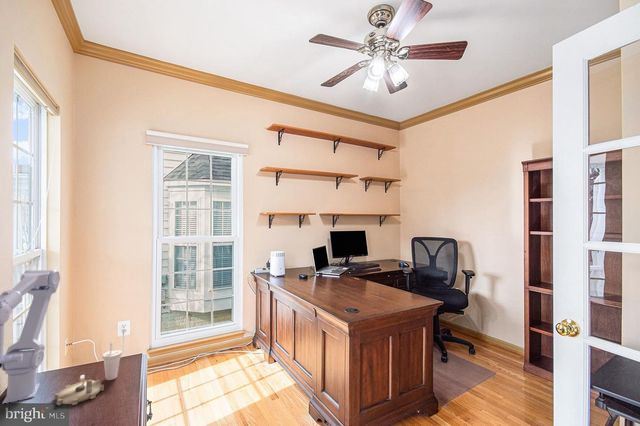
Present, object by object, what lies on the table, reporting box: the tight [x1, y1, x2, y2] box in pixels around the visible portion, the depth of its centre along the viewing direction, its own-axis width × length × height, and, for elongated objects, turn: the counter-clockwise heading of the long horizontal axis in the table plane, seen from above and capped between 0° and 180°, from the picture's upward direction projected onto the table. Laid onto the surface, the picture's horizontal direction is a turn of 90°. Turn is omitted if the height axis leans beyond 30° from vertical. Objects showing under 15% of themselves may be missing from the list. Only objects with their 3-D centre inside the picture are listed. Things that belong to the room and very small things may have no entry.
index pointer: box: [79, 374, 86, 382], centre depth 116 cm, size 3×1×2 cm, turn 34°
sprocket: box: [54, 379, 105, 406], centre depth 109 cm, size 14×14×6 cm
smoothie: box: [102, 342, 123, 381], centre depth 120 cm, size 6×6×14 cm
